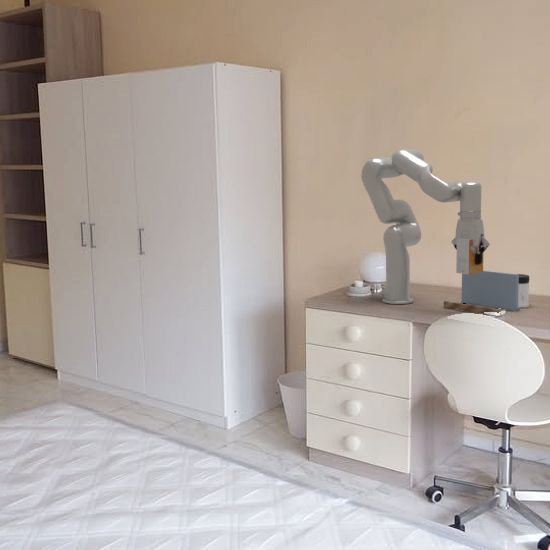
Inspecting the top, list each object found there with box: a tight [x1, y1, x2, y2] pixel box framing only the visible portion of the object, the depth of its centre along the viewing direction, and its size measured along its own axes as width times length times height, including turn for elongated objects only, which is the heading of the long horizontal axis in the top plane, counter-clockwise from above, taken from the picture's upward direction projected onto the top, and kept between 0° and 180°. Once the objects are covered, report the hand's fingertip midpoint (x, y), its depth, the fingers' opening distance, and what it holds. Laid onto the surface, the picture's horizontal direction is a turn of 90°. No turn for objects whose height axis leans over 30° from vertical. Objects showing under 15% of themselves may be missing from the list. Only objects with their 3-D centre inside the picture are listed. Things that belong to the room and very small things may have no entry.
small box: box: [455, 239, 484, 275], centre depth 268 cm, size 8×6×13 cm
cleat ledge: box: [443, 300, 502, 314], centre depth 272 cm, size 24×2×2 cm, turn 41°
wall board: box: [460, 269, 521, 312], centre depth 279 cm, size 24×3×14 cm, turn 41°
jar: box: [518, 273, 530, 309], centre depth 279 cm, size 9×8×12 cm
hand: (469, 263), depth 268 cm, fingers closed on small box, 6 cm apart
